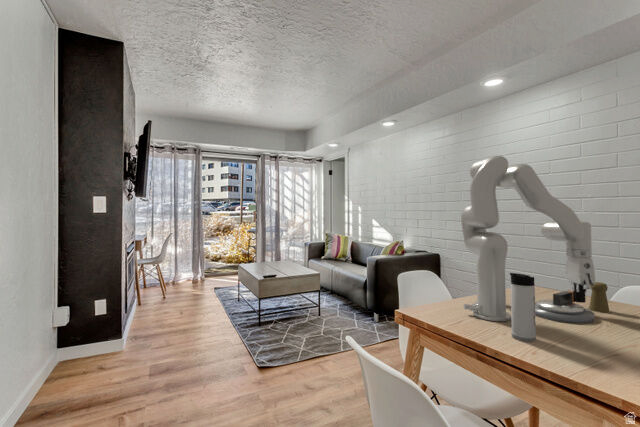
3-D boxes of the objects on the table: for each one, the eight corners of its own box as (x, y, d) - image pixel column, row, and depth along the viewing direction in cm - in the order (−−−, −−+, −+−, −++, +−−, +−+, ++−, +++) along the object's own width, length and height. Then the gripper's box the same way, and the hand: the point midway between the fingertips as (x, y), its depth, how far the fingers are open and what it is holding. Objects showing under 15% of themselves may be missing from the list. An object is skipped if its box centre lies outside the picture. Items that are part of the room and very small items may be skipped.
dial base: (544, 321, 111) (544, 314, 111) (519, 306, 131) (519, 299, 131) (609, 324, 107) (609, 317, 107) (573, 308, 127) (573, 301, 127)
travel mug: (506, 334, 100) (505, 271, 100) (527, 334, 100) (526, 271, 100) (518, 342, 94) (516, 275, 94) (540, 342, 93) (539, 275, 94)
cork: (613, 313, 120) (613, 284, 120) (595, 312, 121) (594, 283, 121) (602, 308, 126) (602, 281, 126) (585, 307, 127) (585, 280, 127)
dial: (572, 316, 109) (572, 300, 109) (529, 306, 122) (529, 292, 122) (594, 309, 118) (594, 294, 118) (552, 300, 130) (552, 287, 130)
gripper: (603, 256, 111) (604, 308, 111) (577, 251, 126) (578, 297, 126) (579, 256, 113) (580, 307, 113) (556, 251, 127) (557, 296, 127)
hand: (579, 301), depth 119 cm, fingers closed
